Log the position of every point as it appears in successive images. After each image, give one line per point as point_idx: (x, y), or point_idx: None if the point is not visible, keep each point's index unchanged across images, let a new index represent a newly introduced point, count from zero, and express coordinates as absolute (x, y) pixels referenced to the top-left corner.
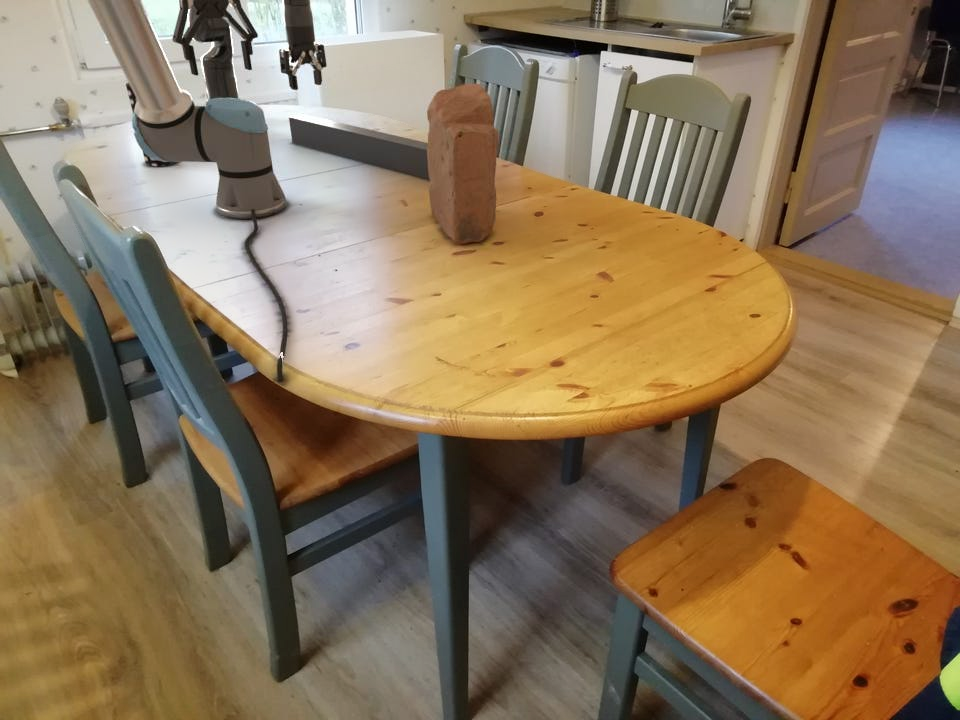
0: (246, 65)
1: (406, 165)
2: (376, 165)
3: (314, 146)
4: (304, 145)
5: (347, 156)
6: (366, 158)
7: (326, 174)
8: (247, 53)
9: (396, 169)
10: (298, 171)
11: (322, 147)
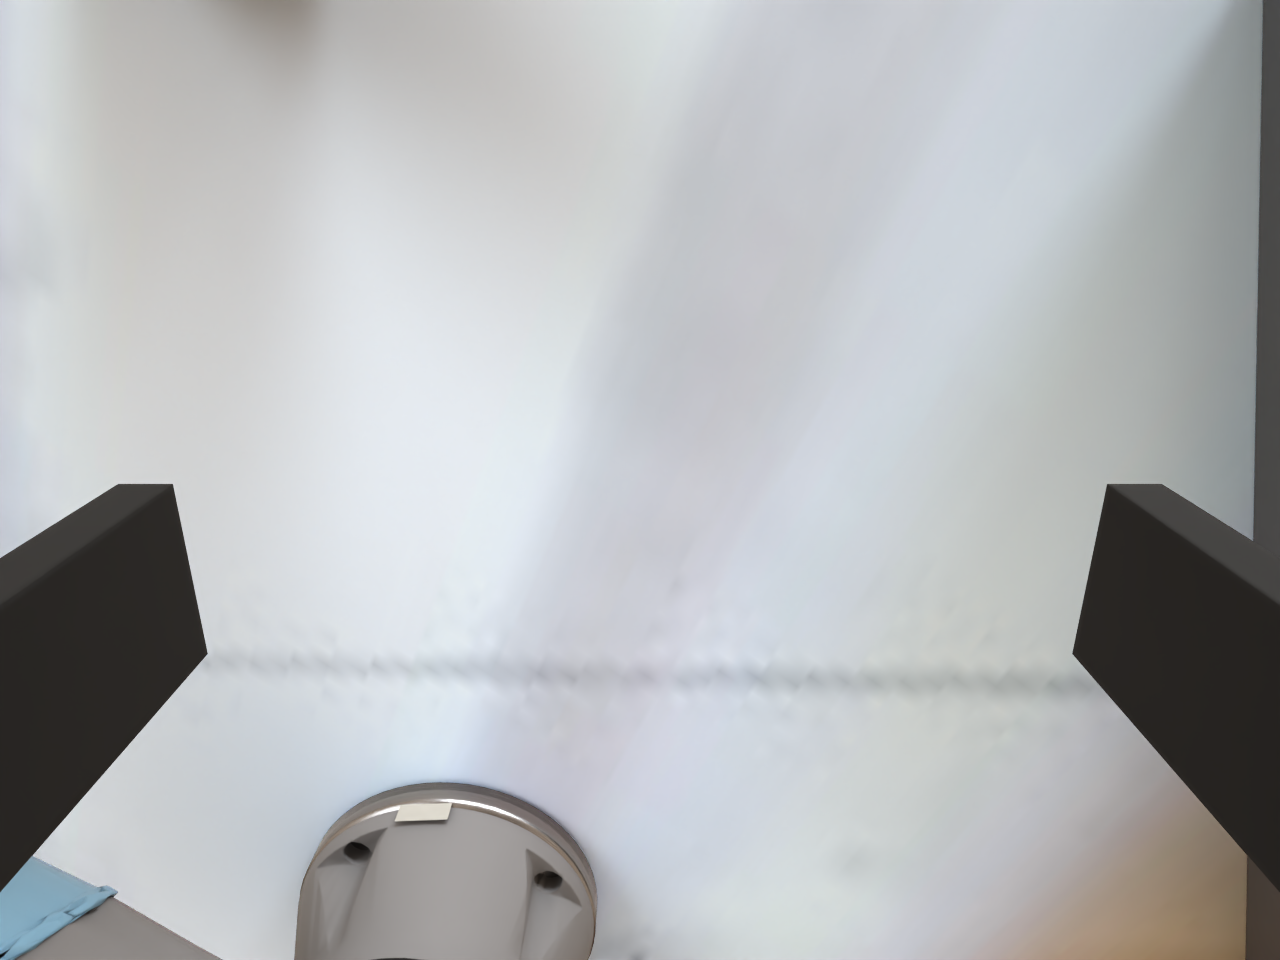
0: (1123, 603)
1: (1273, 945)
2: None
3: (1271, 239)
4: (1265, 116)
5: None
6: None
7: (958, 716)
8: (1263, 848)
9: (1252, 864)
10: (877, 594)
11: (1275, 329)
